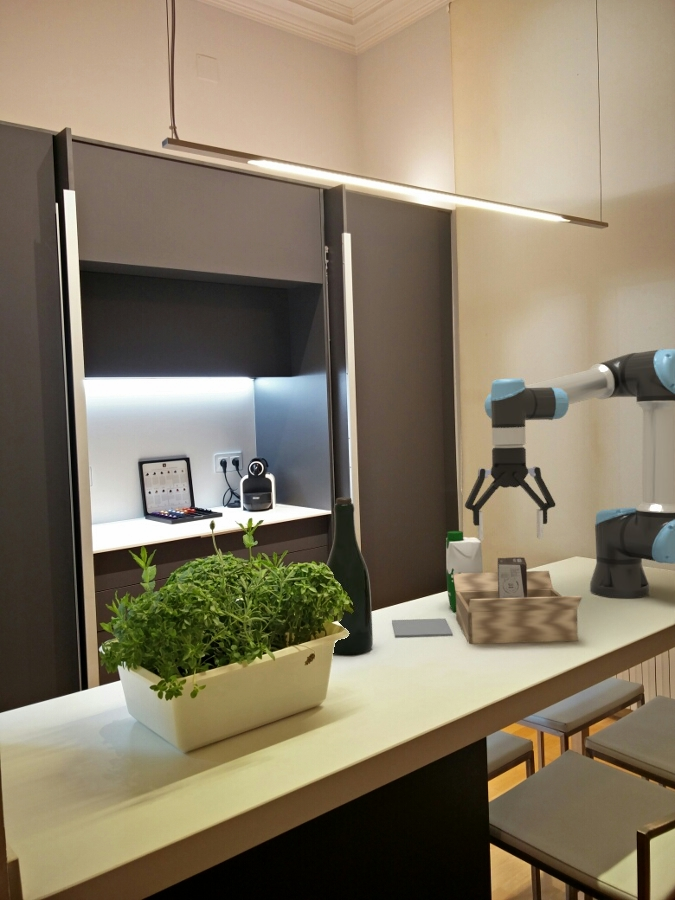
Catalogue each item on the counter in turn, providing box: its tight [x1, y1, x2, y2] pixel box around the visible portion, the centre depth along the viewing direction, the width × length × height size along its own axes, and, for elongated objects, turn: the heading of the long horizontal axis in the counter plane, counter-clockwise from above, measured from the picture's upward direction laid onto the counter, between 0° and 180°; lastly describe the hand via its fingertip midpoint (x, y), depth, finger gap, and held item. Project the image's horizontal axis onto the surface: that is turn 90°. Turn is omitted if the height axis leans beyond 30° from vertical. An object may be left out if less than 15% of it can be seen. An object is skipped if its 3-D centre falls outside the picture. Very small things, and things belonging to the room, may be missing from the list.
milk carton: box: [445, 530, 484, 613], centre depth 194 cm, size 9×9×20 cm
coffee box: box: [497, 556, 528, 598], centre depth 173 cm, size 9×6×16 cm
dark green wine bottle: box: [326, 497, 374, 656], centre depth 163 cm, size 10×10×33 cm
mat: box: [391, 618, 454, 638], centre depth 177 cm, size 13×13×1 cm
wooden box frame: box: [453, 570, 583, 645], centre depth 174 cm, size 24×27×11 cm
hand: (510, 539), depth 173 cm, fingers open, 13 cm apart
